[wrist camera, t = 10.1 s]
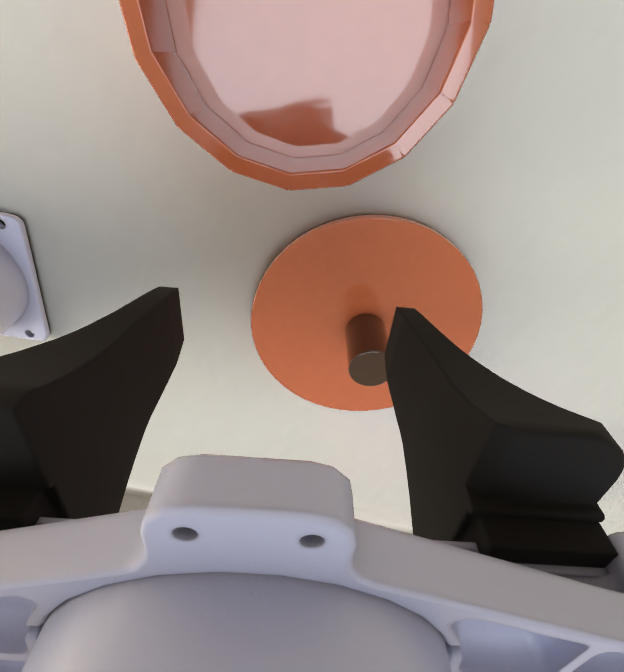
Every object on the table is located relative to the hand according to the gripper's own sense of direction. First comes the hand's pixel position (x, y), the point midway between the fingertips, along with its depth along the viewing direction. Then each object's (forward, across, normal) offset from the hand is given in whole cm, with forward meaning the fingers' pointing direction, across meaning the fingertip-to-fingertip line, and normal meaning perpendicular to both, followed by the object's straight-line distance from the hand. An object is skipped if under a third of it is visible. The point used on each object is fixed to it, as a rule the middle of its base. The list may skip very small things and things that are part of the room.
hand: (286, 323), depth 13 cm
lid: (+9, -4, +6) cm, 11 cm away
